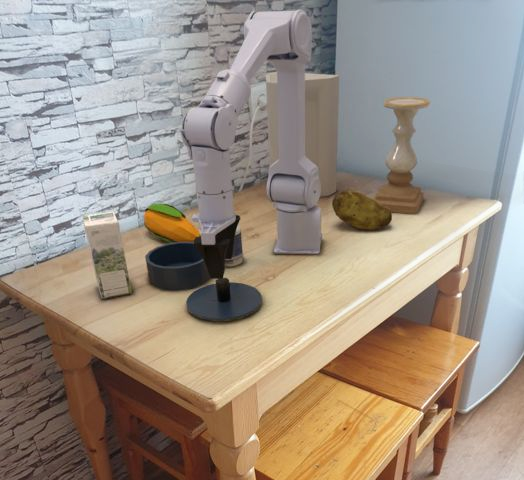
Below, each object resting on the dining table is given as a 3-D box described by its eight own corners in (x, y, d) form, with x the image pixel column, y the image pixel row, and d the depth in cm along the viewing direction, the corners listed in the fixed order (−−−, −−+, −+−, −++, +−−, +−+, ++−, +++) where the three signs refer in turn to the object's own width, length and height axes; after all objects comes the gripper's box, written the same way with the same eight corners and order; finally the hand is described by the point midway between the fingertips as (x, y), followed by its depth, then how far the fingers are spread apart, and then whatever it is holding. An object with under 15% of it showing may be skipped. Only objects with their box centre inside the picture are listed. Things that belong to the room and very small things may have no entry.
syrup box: (127, 281, 110) (113, 209, 102) (132, 294, 105) (118, 219, 97) (98, 287, 108) (81, 214, 100) (101, 300, 103) (84, 225, 96)
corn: (159, 193, 130) (211, 212, 118) (165, 223, 135) (216, 246, 122) (131, 203, 127) (182, 224, 114) (139, 234, 131) (189, 258, 118)
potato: (380, 237, 122) (383, 201, 118) (327, 228, 128) (327, 193, 124) (394, 225, 128) (397, 190, 124) (342, 216, 134) (343, 183, 130)
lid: (266, 288, 105) (265, 265, 102) (256, 325, 94) (254, 300, 91) (196, 286, 107) (194, 263, 104) (178, 322, 96) (174, 298, 93)
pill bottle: (248, 259, 116) (245, 213, 111) (233, 269, 112) (229, 222, 107) (226, 254, 118) (223, 209, 113) (211, 264, 115) (206, 218, 109)
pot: (218, 263, 115) (216, 242, 112) (204, 291, 105) (202, 268, 102) (159, 262, 117) (156, 241, 114) (140, 289, 107) (136, 267, 104)
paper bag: (246, 195, 151) (239, 80, 135) (279, 180, 160) (276, 71, 145) (306, 207, 141) (306, 84, 125) (337, 190, 150) (340, 75, 135)
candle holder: (370, 210, 137) (376, 104, 124) (380, 196, 145) (387, 95, 132) (415, 214, 133) (427, 106, 120) (423, 199, 141) (435, 96, 128)
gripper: (200, 175, 95) (208, 250, 103) (177, 204, 83) (188, 286, 91) (241, 175, 94) (246, 250, 102) (224, 204, 82) (231, 287, 90)
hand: (221, 267), depth 96 cm, fingers open, 7 cm apart
